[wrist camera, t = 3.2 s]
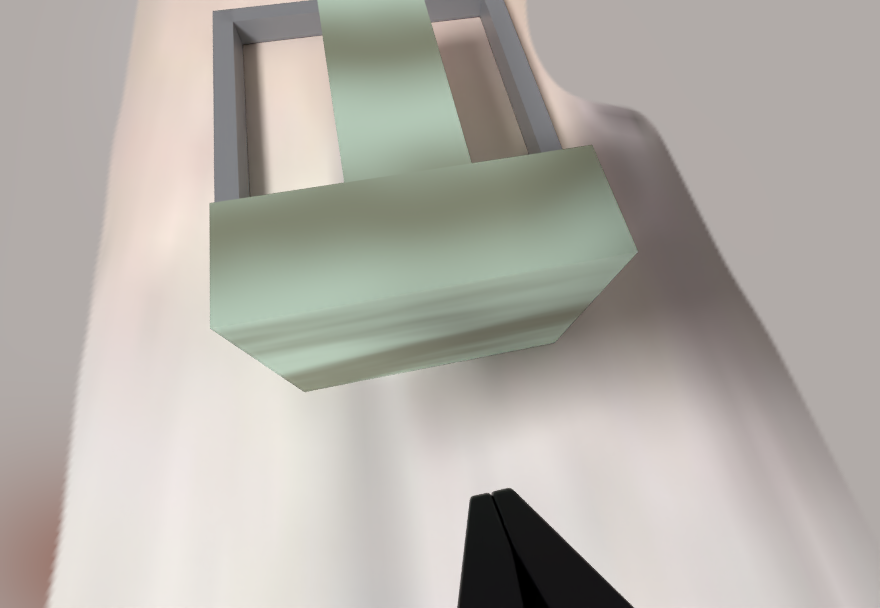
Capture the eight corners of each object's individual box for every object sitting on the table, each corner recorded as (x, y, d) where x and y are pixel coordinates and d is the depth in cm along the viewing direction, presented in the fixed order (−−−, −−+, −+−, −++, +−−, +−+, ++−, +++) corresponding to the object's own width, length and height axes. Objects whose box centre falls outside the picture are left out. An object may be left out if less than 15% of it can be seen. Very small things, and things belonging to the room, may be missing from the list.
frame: (571, 212, 23) (580, 195, 22) (228, 269, 22) (215, 254, 20) (492, 3, 30) (495, -20, 29) (223, 34, 28) (212, 11, 27)
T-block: (554, 342, 21) (637, 251, 12) (304, 392, 20) (210, 328, 11) (484, 124, 26) (510, -45, 17) (283, 153, 25) (208, -12, 16)
